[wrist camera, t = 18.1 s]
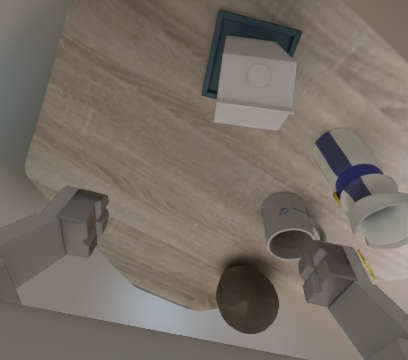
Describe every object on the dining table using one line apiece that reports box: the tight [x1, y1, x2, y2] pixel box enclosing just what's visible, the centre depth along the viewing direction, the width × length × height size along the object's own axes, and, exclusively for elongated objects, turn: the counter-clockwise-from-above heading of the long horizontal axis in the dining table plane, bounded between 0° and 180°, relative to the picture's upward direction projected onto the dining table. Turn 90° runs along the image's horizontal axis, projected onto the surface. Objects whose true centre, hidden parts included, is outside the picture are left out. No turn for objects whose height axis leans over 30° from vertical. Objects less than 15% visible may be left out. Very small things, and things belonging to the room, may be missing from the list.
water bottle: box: [313, 128, 408, 279], centre depth 35 cm, size 8×9×25 cm
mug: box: [262, 192, 327, 261], centre depth 51 cm, size 12×9×10 cm
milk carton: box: [214, 36, 297, 131], centre depth 31 cm, size 7×7×19 cm
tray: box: [202, 10, 302, 99], centre depth 38 cm, size 12×12×2 cm
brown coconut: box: [216, 265, 279, 334], centre depth 61 cm, size 14×14×15 cm
